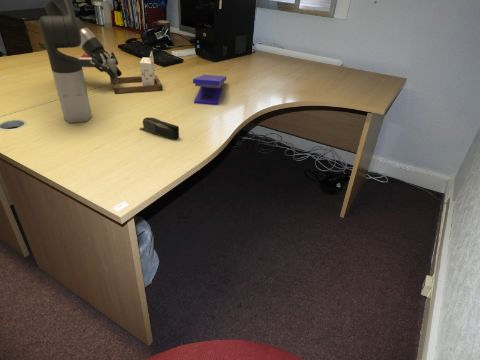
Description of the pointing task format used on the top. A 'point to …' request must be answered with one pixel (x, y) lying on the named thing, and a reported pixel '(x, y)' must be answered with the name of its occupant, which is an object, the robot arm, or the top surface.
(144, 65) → the ink cartridge box
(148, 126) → the black desk stapler
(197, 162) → the top surface
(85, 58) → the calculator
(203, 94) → the stapler
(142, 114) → the top surface
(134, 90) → the rectangular wooden frame
